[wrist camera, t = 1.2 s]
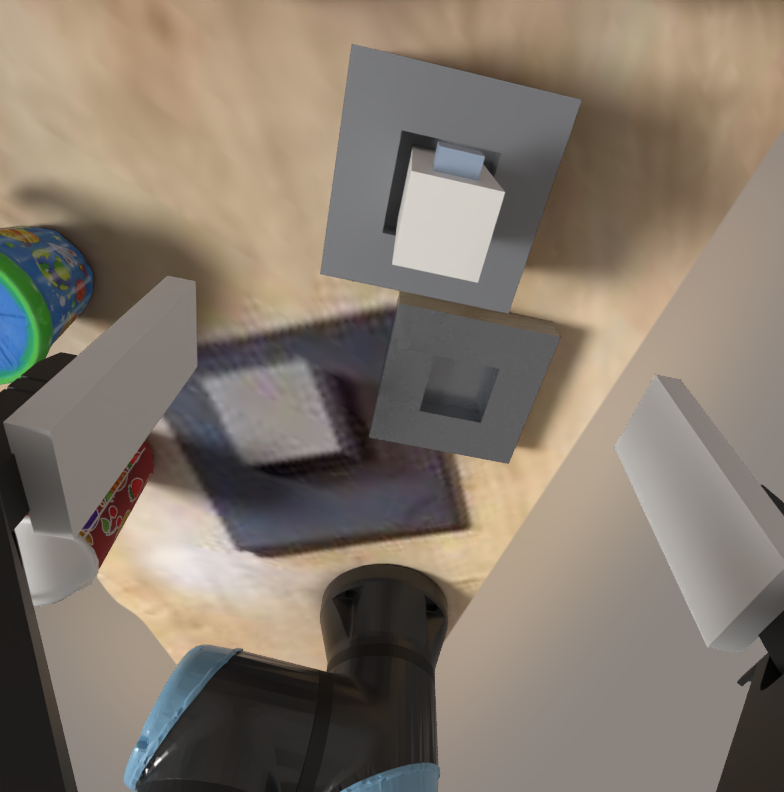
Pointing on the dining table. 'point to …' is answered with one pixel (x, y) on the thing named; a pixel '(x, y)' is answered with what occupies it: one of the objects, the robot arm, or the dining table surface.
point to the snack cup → (37, 295)
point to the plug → (447, 212)
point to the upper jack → (424, 126)
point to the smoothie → (81, 538)
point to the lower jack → (460, 377)
